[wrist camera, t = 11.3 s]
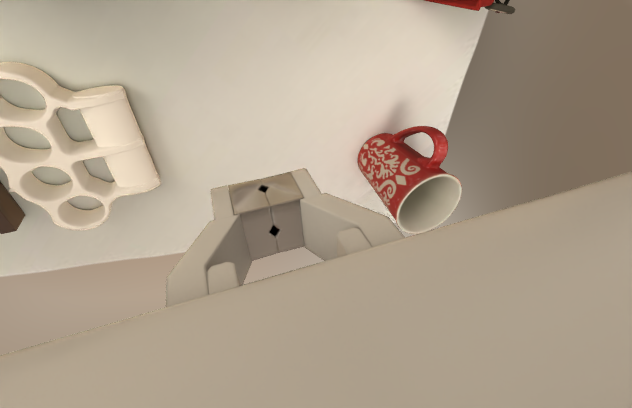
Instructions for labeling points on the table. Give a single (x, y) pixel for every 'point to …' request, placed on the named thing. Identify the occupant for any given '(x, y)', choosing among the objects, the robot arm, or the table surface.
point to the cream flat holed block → (75, 148)
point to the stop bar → (9, 212)
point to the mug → (411, 179)
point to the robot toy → (478, 5)
